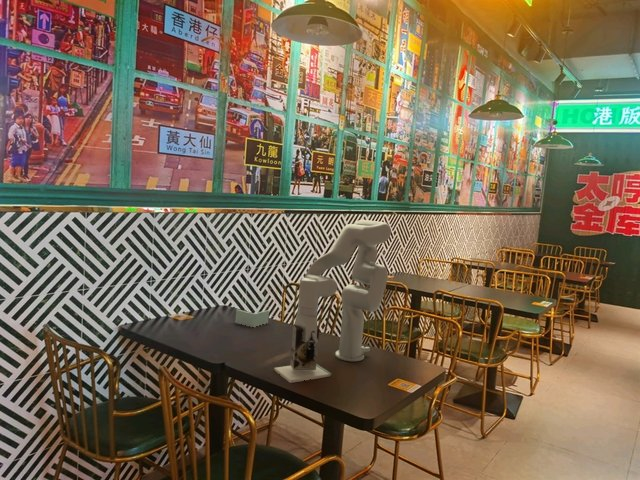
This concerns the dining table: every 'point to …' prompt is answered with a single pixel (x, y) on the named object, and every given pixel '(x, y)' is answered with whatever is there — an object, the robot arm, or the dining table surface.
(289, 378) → the notepad
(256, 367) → the dining table surface
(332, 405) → the dining table surface
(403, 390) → the dining table surface
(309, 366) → the coffee box
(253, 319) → the l-shaped corner panel
